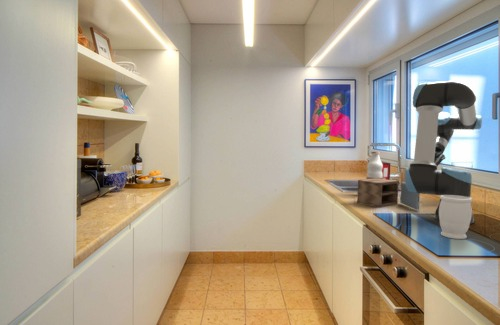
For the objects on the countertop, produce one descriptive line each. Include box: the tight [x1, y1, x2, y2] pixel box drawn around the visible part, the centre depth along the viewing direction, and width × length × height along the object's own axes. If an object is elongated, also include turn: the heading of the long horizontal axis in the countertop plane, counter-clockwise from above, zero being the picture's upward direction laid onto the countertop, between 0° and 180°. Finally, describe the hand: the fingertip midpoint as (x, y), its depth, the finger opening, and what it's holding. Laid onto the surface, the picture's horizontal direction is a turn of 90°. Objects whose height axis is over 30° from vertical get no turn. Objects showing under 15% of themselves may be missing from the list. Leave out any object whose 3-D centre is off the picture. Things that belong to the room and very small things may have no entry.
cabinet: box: [356, 178, 400, 209], centre depth 186 cm, size 14×17×13 cm
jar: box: [439, 195, 474, 240], centre depth 126 cm, size 11×10×15 cm
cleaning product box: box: [367, 160, 391, 180], centre depth 229 cm, size 16×9×20 cm, turn 179°
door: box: [399, 181, 421, 210], centre depth 177 cm, size 3×18×12 cm, turn 2°
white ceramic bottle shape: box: [366, 151, 383, 179], centre depth 209 cm, size 9×9×28 cm
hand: (422, 176), depth 187 cm, fingers closed
